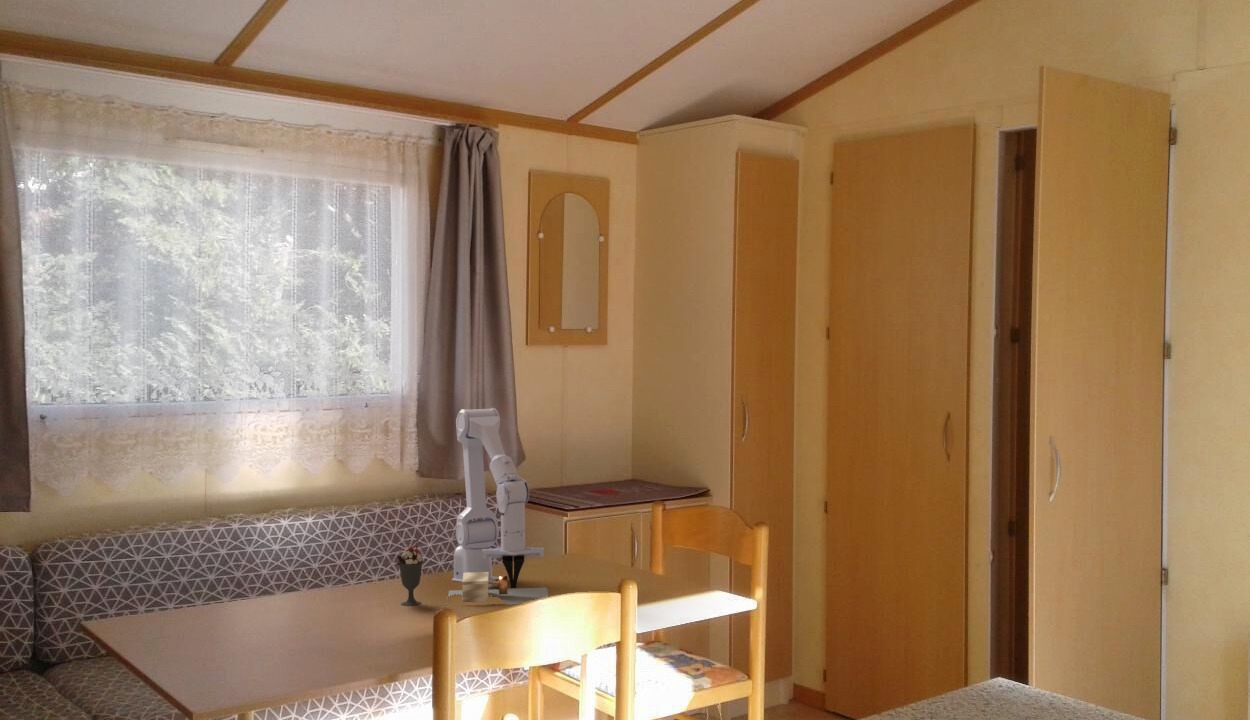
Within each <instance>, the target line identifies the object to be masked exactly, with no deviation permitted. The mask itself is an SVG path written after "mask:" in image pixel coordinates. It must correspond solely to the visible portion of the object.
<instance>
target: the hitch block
mask: <svg viewBox="0 0 1250 720" xmlns="http://www.w3.org/2000/svg"><path fill="white" fill-rule="evenodd" d="M488 581H489V572H467V573H463V581H462V582H461V583H462V584H461V585H462V586H461V587H462V589H461V590H462V600H463V602H488V597H489V590H488Z"/></svg>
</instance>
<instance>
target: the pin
mask: <svg viewBox="0 0 1250 720" xmlns="http://www.w3.org/2000/svg"><path fill="white" fill-rule="evenodd" d="M498 577H499V579H498V580H495V581H488V590H497V589H499V595H501V594H507V589H508V575H498Z"/></svg>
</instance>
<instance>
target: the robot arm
mask: <svg viewBox="0 0 1250 720" xmlns="http://www.w3.org/2000/svg"><path fill="white" fill-rule="evenodd" d="M456 416H457V417H456V418H455V425H456V428H455V429H456V437H457V442H458V443H461V444H462V452H463V453H462V454H463V469H464V482H465V483H464V484H465V497H466V500H465V501H466V508H465V509H464V510H463V511H461V512H460V514H458V515H457V517H456V528H455V538H456V541H457V543H458V544H459V545H458V546H457V547H456V548H455V549H454V553H453V578H452V579H451V581H452V582H458V583H459V582H460V583H462V581H463V573H467V572H489V581H499V576H493V564H492V563H493V559H499V558H500V559H501V561H502V564H503V566H504V568H505V570H506V573H507V577H508V579H509V584H510V589H517V584H518V579H519V575H520V573H521V570H522V567H523V565H524V562H525V558H527V557H528V558H532V557H533V558H535V557H539V558H544V555H545V554H544V553H545V552H544V550H545V549H544V547H533V546H532V547H531V546H526V504H527V503H528V501H529V499H530V487H529V484H528V482H527V480H526V479H523V476H520V475H519V474H518V473H519V472H518V470H517V468H516V466H515V464H514V462H513V459H512V457H511V456H509V455H506V452H505V450H504V447H503V444H502V439H501V436H500V433H499V432H500V428H501V416H500V413H499V411H498V410H497V409H496V408H495V407H491V408H479V409H478V408H477V409H476V408H473V409H463V408H462V409H460V410H459V412H458V413H457V415H456ZM483 447H484V449H485V450H486V453H487V455H488V456H489V458H490V460H491V461H490V463H489V469H490V471H491V474H492V476H493V480H494V482H495V484H496V495H495V496H496V501H497V504H498V512H499V513H500V527H499V525H498V521H497V515H496V513H495V512H494V511H493V510H491V509H490V508H488V507H487V496H486V480H485V467H484V451H483ZM475 519H476V520H475ZM477 519H478V520H477ZM499 535H500V540H501V541H500V544H501V547H495V548H493V547H494V546H495V543H497V540H499V539H498V538H499Z"/></svg>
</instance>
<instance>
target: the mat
mask: <svg viewBox="0 0 1250 720" xmlns="http://www.w3.org/2000/svg"><path fill="white" fill-rule="evenodd" d="M454 594H456V595H457V594H459V595H460V594H461V595H462V589H459V590H456V589H455V590H448V595H447V597H448V596H449V597H450V595H451V596H452V595H454ZM490 595H492V597H498V598H500V599H501V600H503V602H504V603H505V604H507V605H506V606H509V605H510V606H511V605H513V604H517V605H519V604H518V603H522V602H526V601H529V600H535V599H538V598H541V597H545V596H549V590H548V587H523V588H521V587H520V588H519V587H518V588H517V587H516V588H507V594H501V595H499V589H497V590H489V596H490ZM490 597H491V596H490ZM445 607H446V608H448V607H450V606H446V605H445Z"/></svg>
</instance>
